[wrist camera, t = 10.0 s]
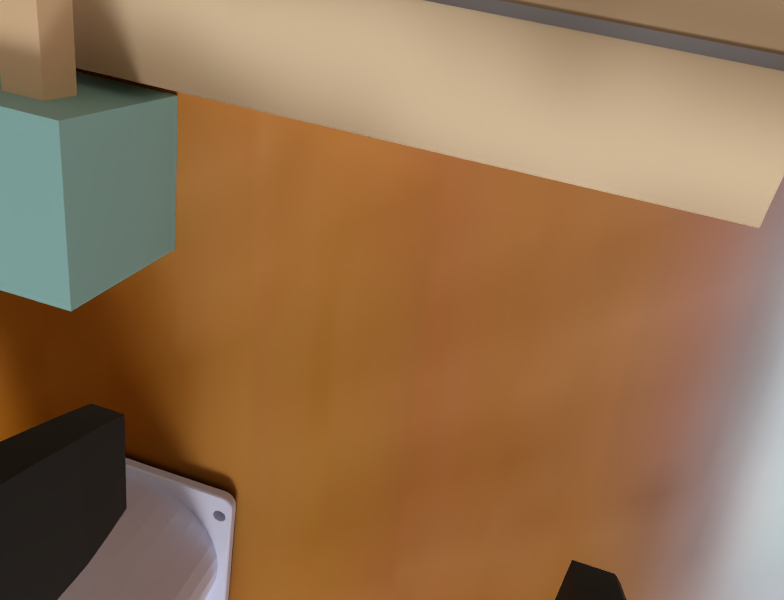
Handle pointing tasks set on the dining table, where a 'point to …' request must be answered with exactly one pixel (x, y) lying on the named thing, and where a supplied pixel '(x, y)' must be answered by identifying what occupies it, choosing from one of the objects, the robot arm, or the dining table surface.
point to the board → (492, 82)
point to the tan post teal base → (77, 165)
